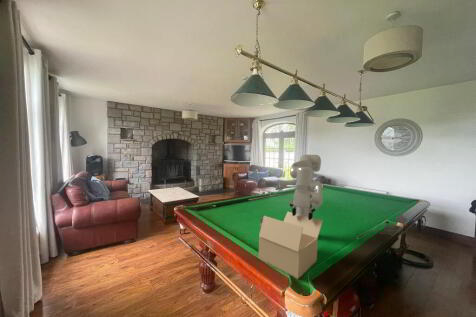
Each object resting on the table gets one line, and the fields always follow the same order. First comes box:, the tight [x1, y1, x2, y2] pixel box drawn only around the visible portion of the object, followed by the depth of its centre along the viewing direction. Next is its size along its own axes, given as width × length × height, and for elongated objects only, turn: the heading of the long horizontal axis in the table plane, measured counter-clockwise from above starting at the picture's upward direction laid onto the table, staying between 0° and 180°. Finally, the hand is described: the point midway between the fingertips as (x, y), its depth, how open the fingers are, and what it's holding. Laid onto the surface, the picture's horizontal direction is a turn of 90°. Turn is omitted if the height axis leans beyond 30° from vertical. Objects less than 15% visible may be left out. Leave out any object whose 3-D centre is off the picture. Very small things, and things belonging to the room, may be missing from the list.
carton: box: [257, 233, 319, 280], centre depth 96 cm, size 22×22×12 cm
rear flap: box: [283, 211, 324, 238], centre depth 107 cm, size 11×22×1 cm
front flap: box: [258, 215, 303, 252], centre depth 90 cm, size 11×22×1 cm
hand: (301, 217), depth 107 cm, fingers open, 9 cm apart
